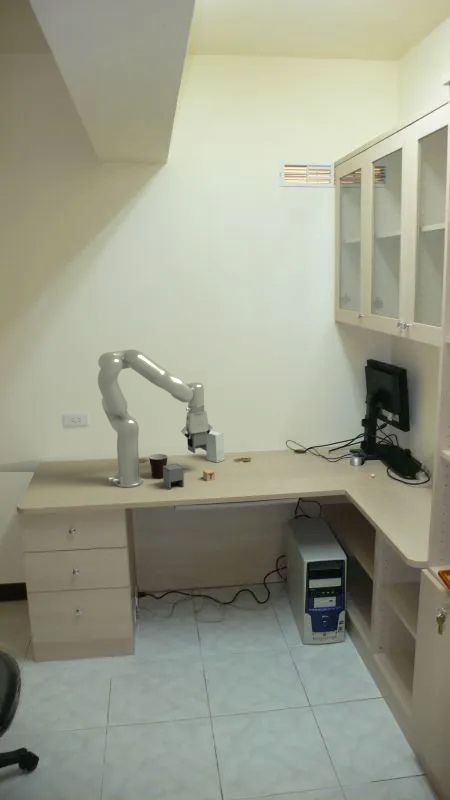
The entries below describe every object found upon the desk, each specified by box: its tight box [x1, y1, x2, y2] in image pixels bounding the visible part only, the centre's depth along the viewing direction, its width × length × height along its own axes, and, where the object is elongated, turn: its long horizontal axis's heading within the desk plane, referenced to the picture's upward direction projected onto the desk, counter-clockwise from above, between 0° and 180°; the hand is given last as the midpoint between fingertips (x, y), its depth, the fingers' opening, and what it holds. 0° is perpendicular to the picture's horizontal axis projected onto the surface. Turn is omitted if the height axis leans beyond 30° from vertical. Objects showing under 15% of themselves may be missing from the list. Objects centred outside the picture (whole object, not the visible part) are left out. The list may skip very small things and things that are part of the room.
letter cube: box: [202, 468, 216, 482], centre depth 271 cm, size 4×4×4 cm
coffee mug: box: [148, 453, 168, 480], centre depth 275 cm, size 12×9×10 cm
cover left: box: [162, 463, 185, 491], centre depth 262 cm, size 7×7×9 cm
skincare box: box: [205, 430, 226, 463], centre depth 298 cm, size 8×6×15 cm
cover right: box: [186, 431, 207, 454], centre depth 278 cm, size 7×7×9 cm
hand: (197, 444), depth 279 cm, fingers closed on cover right, 7 cm apart
